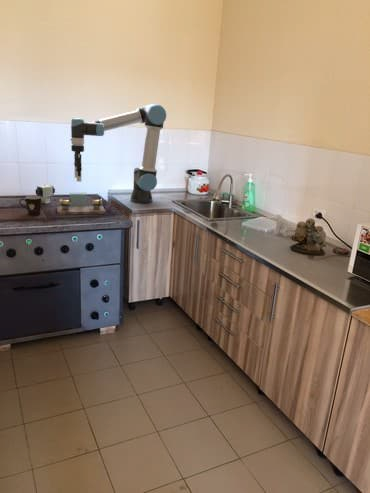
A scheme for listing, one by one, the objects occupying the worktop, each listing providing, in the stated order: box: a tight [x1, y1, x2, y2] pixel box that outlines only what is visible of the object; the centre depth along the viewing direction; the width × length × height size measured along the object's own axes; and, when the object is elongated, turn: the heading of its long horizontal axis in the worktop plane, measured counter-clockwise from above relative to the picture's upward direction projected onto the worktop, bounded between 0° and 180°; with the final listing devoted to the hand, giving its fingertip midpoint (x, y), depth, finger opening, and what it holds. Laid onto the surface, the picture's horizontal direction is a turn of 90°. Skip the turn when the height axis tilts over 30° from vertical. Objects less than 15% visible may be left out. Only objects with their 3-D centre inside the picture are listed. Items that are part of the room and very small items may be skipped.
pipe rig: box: [58, 198, 103, 210], centre depth 255 cm, size 25×4×6 cm, turn 109°
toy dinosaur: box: [265, 213, 297, 237], centre depth 235 cm, size 7×24×11 cm, turn 65°
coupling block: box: [69, 192, 89, 207], centre depth 269 cm, size 11×5×8 cm, turn 109°
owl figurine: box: [289, 217, 327, 257], centre depth 210 cm, size 18×12×17 cm, turn 78°
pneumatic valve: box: [35, 183, 56, 205], centre depth 269 cm, size 6×12×12 cm, turn 146°
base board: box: [55, 205, 107, 216], centre depth 256 cm, size 28×13×2 cm, turn 109°
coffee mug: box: [18, 195, 42, 217], centre depth 242 cm, size 12×9×10 cm
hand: (77, 179), depth 265 cm, fingers open, 13 cm apart
